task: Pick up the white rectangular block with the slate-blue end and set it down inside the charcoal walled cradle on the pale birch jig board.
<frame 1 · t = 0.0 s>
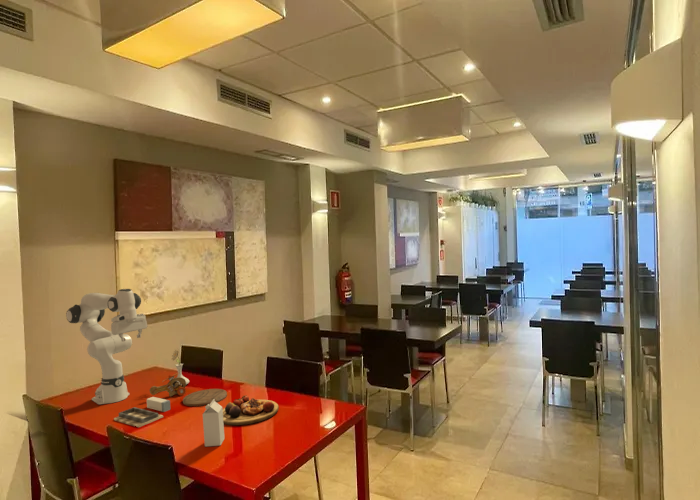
hand: (131, 339, 253), 39 cm above the table, tool pointing down, fingers open, 8 cm apart
wooden plate with food: (248, 414, 229), on the table
white rectangular block: (158, 408, 245), on the table
trivet: (205, 399, 257), on the table
flower in vase: (180, 385, 285), on the table
milk carton: (214, 443, 196), on the table
jig: (138, 418, 231), on the table
toy cannon: (170, 396, 265), on the table
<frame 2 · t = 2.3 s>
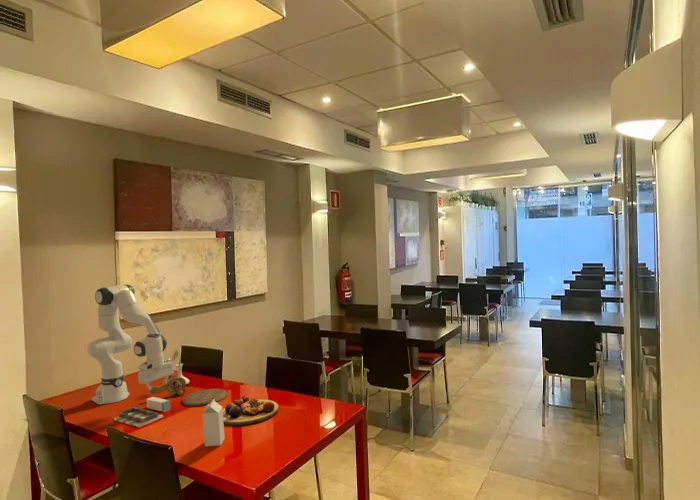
hand: (157, 386, 244), 13 cm above the table, tool pointing down, fingers open, 8 cm apart
nothing on the table moved.
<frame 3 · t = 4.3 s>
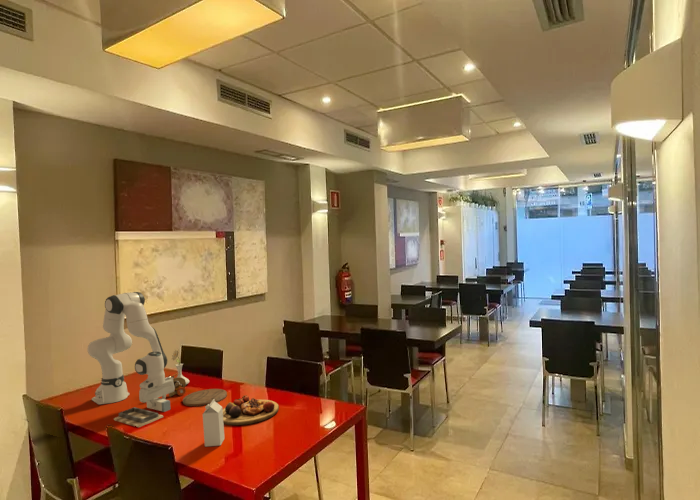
hand: (158, 404, 245), 2 cm above the table, tool pointing down, fingers closed on white rectangular block, 4 cm apart
white rectangular block: (158, 408, 245), on the table, touching gripper
everything else where it was.
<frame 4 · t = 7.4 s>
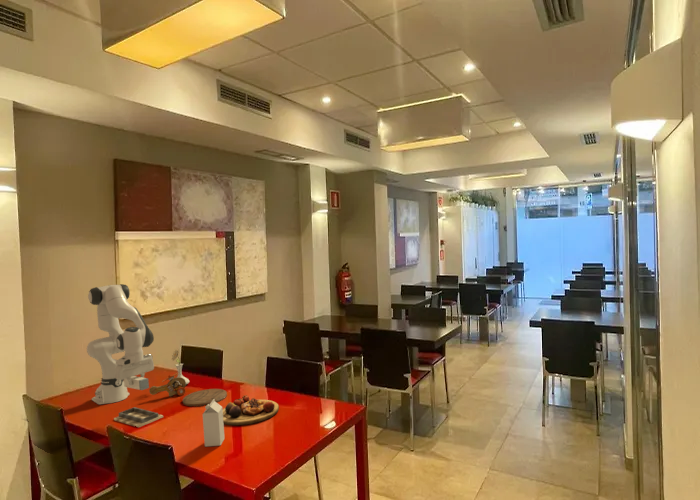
hand: (136, 383, 231), 19 cm above the table, tool pointing down, fingers closed on white rectangular block, 4 cm apart
white rectangular block: (136, 387, 231), point 17 cm above the table, touching gripper
everything else where it was.
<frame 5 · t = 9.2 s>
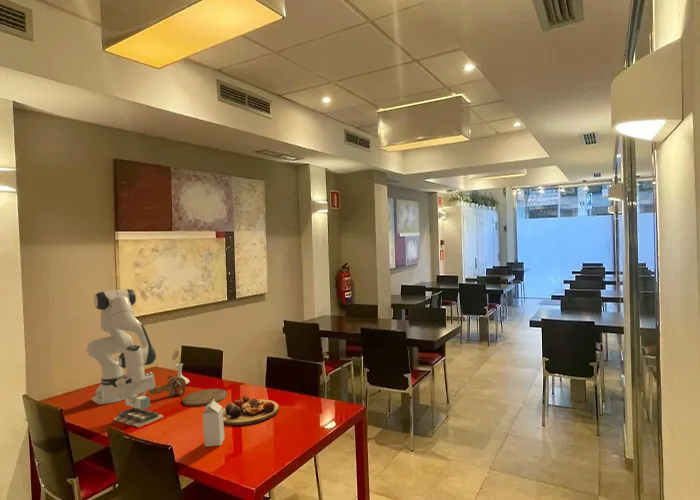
hand: (137, 401, 231), 9 cm above the table, tool pointing down, fingers closed on white rectangular block, 4 cm apart
white rectangular block: (137, 405, 231), point 7 cm above the table, touching gripper
everything else where it was.
when the fingers open (5 cm above the table, at t = 10.9 s): white rectangular block drops 1 cm, resting on jig.
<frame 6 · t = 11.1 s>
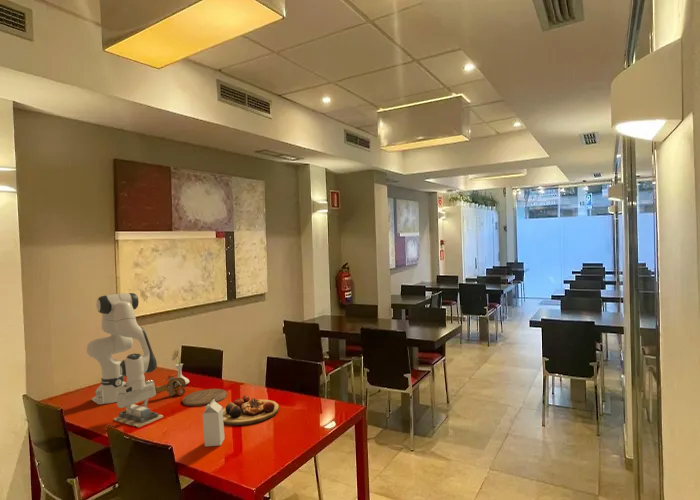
hand: (137, 410, 231), 5 cm above the table, tool pointing down, fingers open, 6 cm apart
white rectangular block: (138, 416, 231), point 1 cm above the table, touching jig
everything else where it was.
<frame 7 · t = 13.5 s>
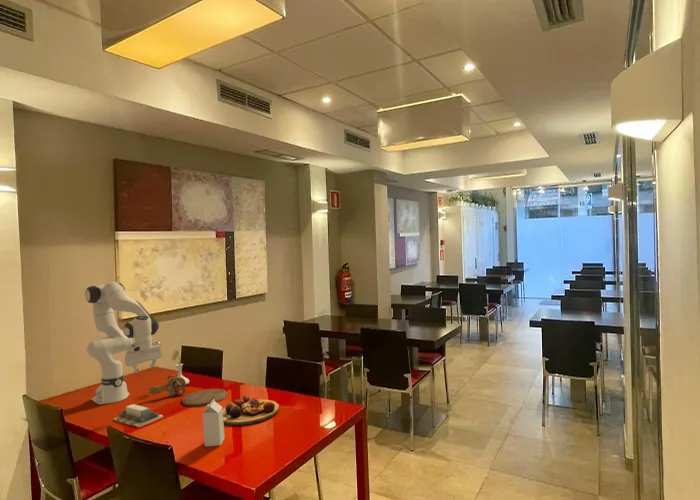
hand: (144, 369, 240), 24 cm above the table, tool pointing down, fingers open, 8 cm apart
nothing on the table moved.
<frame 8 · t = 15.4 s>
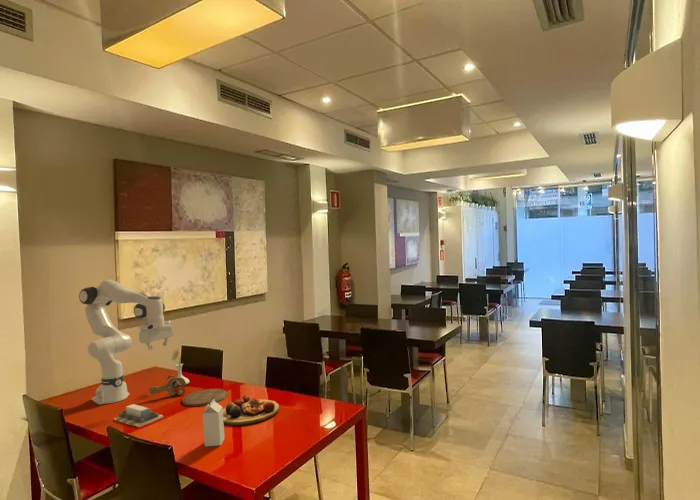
hand: (157, 347, 253), 33 cm above the table, tool pointing down, fingers open, 8 cm apart
nothing on the table moved.
at the end: white rectangular block 0.0 cm off-centre on the jig, point 1.0 cm above the jig's base; white rectangular block tilted 0°; the gripper is holding nothing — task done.
